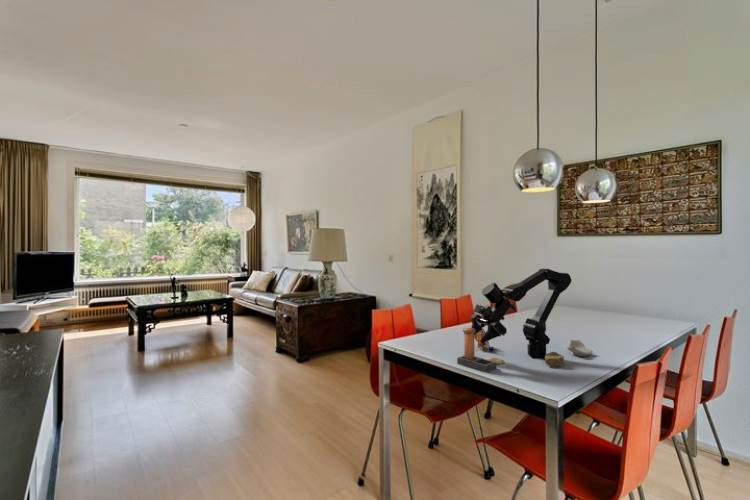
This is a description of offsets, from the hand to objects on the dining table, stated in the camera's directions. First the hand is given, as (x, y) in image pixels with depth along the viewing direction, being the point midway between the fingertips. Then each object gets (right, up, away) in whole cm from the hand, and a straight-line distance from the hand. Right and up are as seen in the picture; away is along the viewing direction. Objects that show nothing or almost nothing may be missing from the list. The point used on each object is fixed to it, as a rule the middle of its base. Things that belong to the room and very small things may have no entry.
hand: (474, 339), depth 147 cm
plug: (-2, -10, -1) cm, 10 cm away
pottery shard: (+48, -9, +10) cm, 50 cm away
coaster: (+9, -10, +2) cm, 13 cm away
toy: (+10, -10, +21) cm, 25 cm away
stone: (+32, -10, 0) cm, 33 cm away
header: (0, -10, -3) cm, 10 cm away
